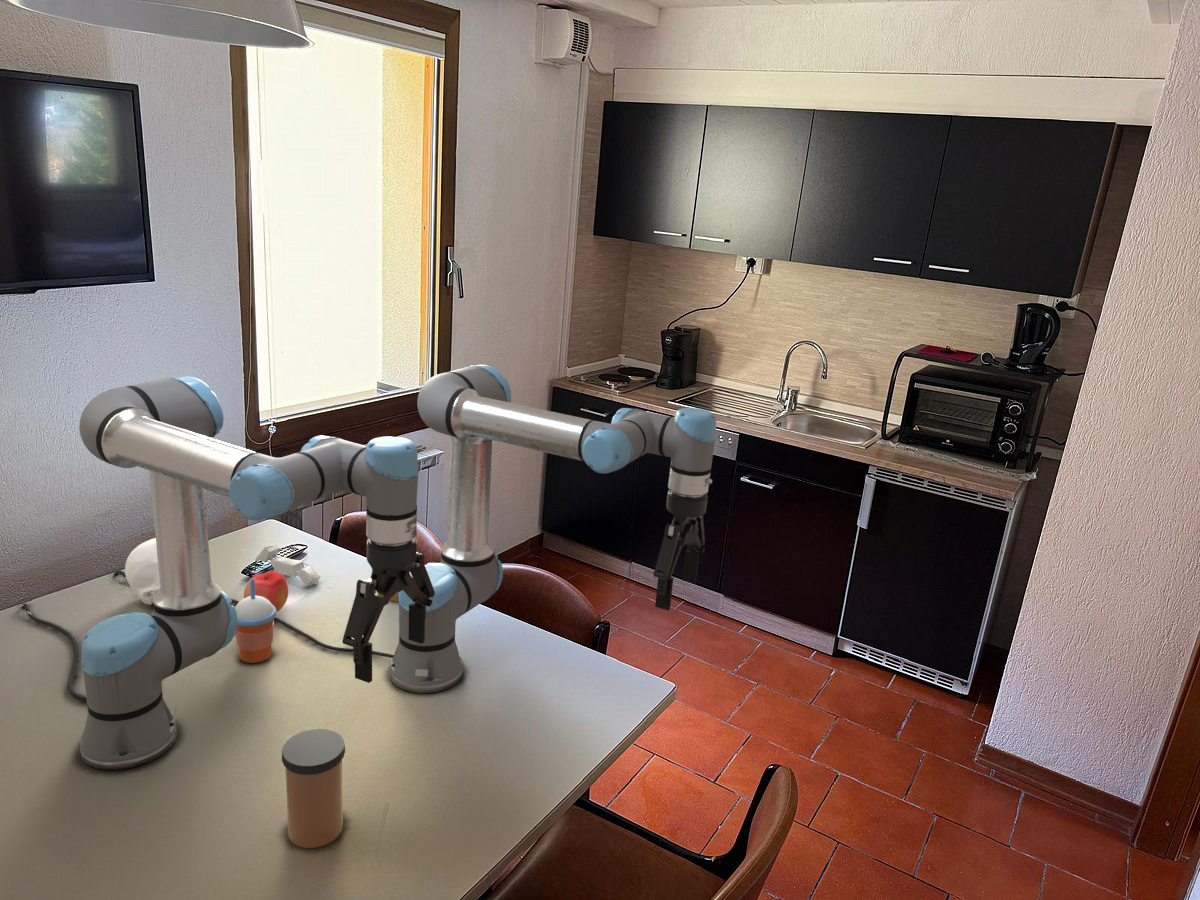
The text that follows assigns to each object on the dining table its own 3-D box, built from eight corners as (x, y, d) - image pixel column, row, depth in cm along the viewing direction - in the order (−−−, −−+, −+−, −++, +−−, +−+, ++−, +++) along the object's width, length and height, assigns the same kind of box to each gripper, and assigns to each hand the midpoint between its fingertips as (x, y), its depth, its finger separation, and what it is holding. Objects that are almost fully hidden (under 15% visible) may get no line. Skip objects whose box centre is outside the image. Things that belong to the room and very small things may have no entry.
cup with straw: (262, 670, 179) (259, 592, 173) (223, 662, 180) (219, 585, 175) (286, 648, 187) (283, 574, 182) (249, 641, 189) (245, 567, 183)
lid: (312, 783, 127) (311, 774, 127) (268, 760, 132) (268, 751, 131) (357, 751, 135) (357, 742, 135) (315, 729, 139) (315, 721, 139)
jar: (314, 856, 132) (312, 774, 128) (276, 833, 136) (273, 753, 131) (354, 824, 139) (353, 745, 135) (317, 803, 143) (315, 726, 139)
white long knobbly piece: (253, 565, 223) (254, 542, 221) (265, 560, 226) (266, 537, 224) (309, 593, 215) (310, 569, 213) (320, 588, 218) (321, 564, 216)
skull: (191, 623, 194) (188, 559, 190) (113, 604, 200) (108, 540, 195) (231, 600, 206) (229, 539, 202) (157, 582, 212) (153, 522, 208)
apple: (273, 600, 207) (272, 562, 204) (297, 613, 202) (296, 575, 199) (237, 614, 200) (234, 575, 197) (261, 628, 194) (259, 588, 191)
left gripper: (358, 573, 119) (358, 705, 125) (457, 517, 141) (454, 632, 147) (315, 560, 121) (318, 690, 128) (420, 508, 143) (418, 620, 150)
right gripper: (681, 516, 147) (669, 626, 153) (728, 478, 168) (716, 576, 174) (642, 506, 150) (631, 614, 156) (693, 470, 171) (682, 566, 178)
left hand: (391, 659), depth 137 cm, fingers open, 13 cm apart
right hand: (676, 594), depth 165 cm, fingers open, 13 cm apart
